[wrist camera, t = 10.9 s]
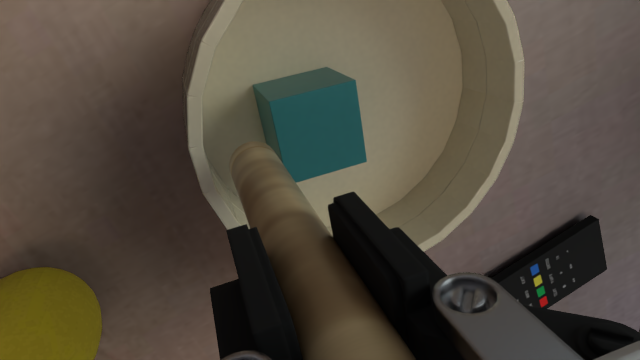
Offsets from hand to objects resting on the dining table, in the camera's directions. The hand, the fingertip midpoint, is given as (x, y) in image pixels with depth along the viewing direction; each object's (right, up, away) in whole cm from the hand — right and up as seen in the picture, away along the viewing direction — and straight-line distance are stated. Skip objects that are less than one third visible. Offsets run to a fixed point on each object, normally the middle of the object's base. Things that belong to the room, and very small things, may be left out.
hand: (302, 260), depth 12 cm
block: (-1, +6, +12) cm, 13 cm away
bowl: (+1, +7, +13) cm, 15 cm away
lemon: (-14, -3, +12) cm, 19 cm away
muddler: (-2, +3, +7) cm, 8 cm away
